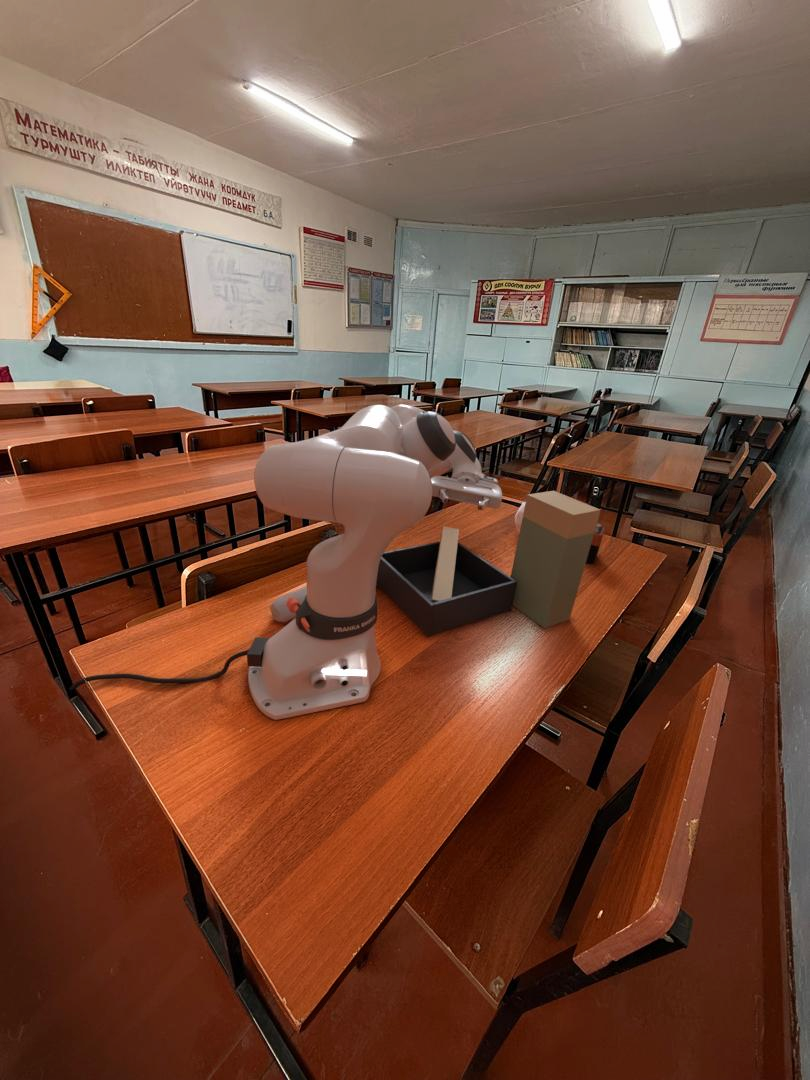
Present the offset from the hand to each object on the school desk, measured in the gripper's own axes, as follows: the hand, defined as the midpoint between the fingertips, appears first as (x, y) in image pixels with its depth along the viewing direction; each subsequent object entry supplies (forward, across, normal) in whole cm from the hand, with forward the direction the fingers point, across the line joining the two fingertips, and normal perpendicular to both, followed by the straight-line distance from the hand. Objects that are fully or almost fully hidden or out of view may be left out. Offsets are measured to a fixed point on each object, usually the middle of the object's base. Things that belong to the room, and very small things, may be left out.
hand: (463, 503), depth 113 cm
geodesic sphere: (-18, +24, +16) cm, 34 cm away
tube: (+32, -26, +15) cm, 43 cm away
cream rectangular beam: (+18, -2, +10) cm, 21 cm away
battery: (-10, +38, +14) cm, 42 cm away
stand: (+22, +21, +12) cm, 32 cm away
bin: (+22, -1, +14) cm, 26 cm away
